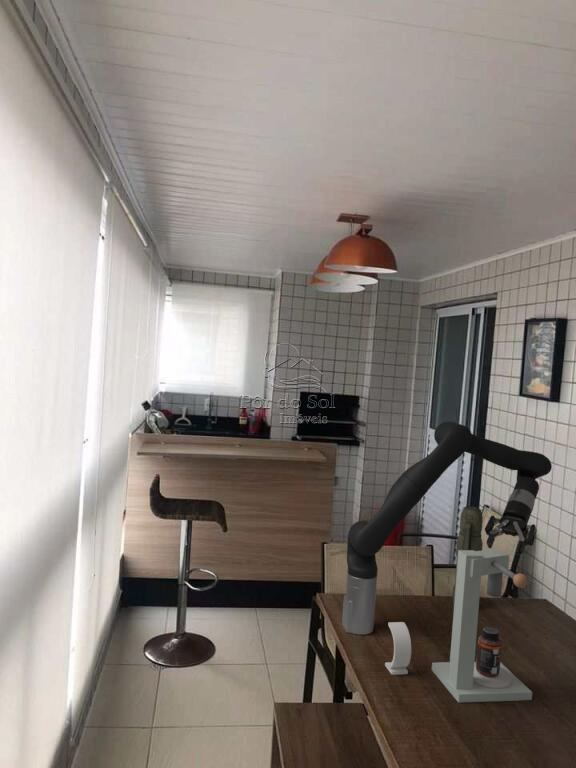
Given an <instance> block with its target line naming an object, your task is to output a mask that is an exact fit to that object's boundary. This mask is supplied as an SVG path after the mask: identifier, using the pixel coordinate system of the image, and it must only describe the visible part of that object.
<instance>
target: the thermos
mask: <svg viewBox="0 0 576 768" xmlns="http://www.w3.org/2000/svg"><path fill="white" fill-rule="evenodd" d="M483 520H484V516H483V512H482V509H481V508H479V507H477V506H472V505H467V506H463V508H462V511H461V512H460V519H459V531H458V533H459V534H458V537H457V539H456V546H455V547H456V548H455V556H456V565H455V577H454V578H455V579H454V585H453V587H452V603H451V604H452V605H453V606H454V602H455V589H456V576H457V561H458V550H474V551H482V550H483V544H484V543H483V540H482V531H483Z"/></svg>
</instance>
